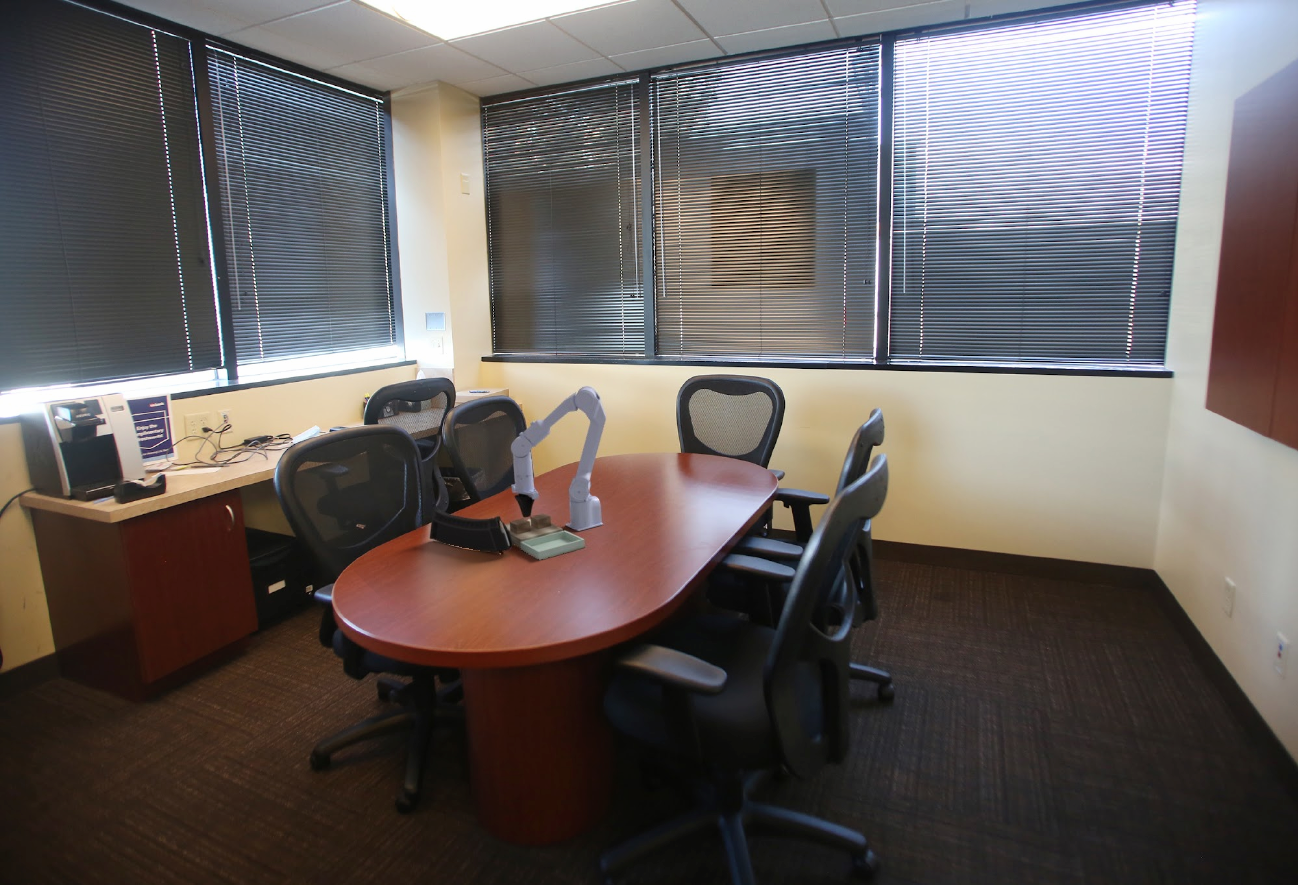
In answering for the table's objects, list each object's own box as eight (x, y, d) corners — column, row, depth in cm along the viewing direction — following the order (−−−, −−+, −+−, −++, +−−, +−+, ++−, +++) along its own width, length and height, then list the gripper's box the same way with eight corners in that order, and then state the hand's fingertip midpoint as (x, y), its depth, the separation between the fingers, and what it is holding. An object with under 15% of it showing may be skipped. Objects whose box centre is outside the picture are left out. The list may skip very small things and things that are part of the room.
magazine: (421, 513, 214) (490, 495, 198) (429, 510, 217) (498, 492, 201) (438, 567, 215) (508, 553, 199) (446, 563, 218) (516, 550, 202)
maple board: (537, 526, 227) (537, 517, 226) (563, 538, 214) (562, 528, 214) (497, 535, 219) (496, 526, 218) (521, 549, 206) (520, 539, 206)
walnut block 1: (523, 527, 216) (522, 518, 216) (530, 531, 213) (530, 521, 212) (510, 530, 214) (509, 521, 213) (517, 534, 210) (516, 524, 209)
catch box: (565, 538, 214) (565, 530, 214) (585, 547, 206) (584, 539, 205) (520, 550, 206) (520, 541, 205) (539, 560, 197) (538, 551, 196)
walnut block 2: (543, 522, 220) (543, 513, 220) (551, 526, 217) (550, 516, 216) (531, 525, 218) (530, 516, 217) (538, 529, 214) (537, 519, 214)
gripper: (501, 473, 225) (504, 514, 228) (522, 481, 214) (526, 524, 216) (521, 469, 229) (524, 509, 232) (543, 477, 218) (546, 519, 220)
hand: (526, 516), depth 224 cm, fingers closed
